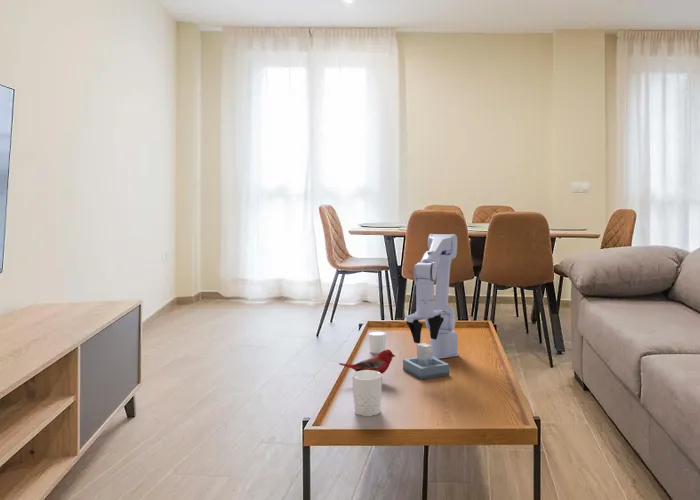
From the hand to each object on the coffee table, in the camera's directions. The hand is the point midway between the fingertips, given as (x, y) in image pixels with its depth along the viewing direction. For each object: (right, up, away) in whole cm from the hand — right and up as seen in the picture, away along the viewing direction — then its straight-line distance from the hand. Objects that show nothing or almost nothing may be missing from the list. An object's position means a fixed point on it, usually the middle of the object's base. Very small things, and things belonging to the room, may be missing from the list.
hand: (425, 340), depth 167 cm
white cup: (-20, -14, -31) cm, 39 cm away
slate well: (0, -10, +1) cm, 10 cm away
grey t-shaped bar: (0, -9, +1) cm, 9 cm away
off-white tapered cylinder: (-14, -9, +26) cm, 31 cm away
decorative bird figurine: (-19, -12, -8) cm, 24 cm away
